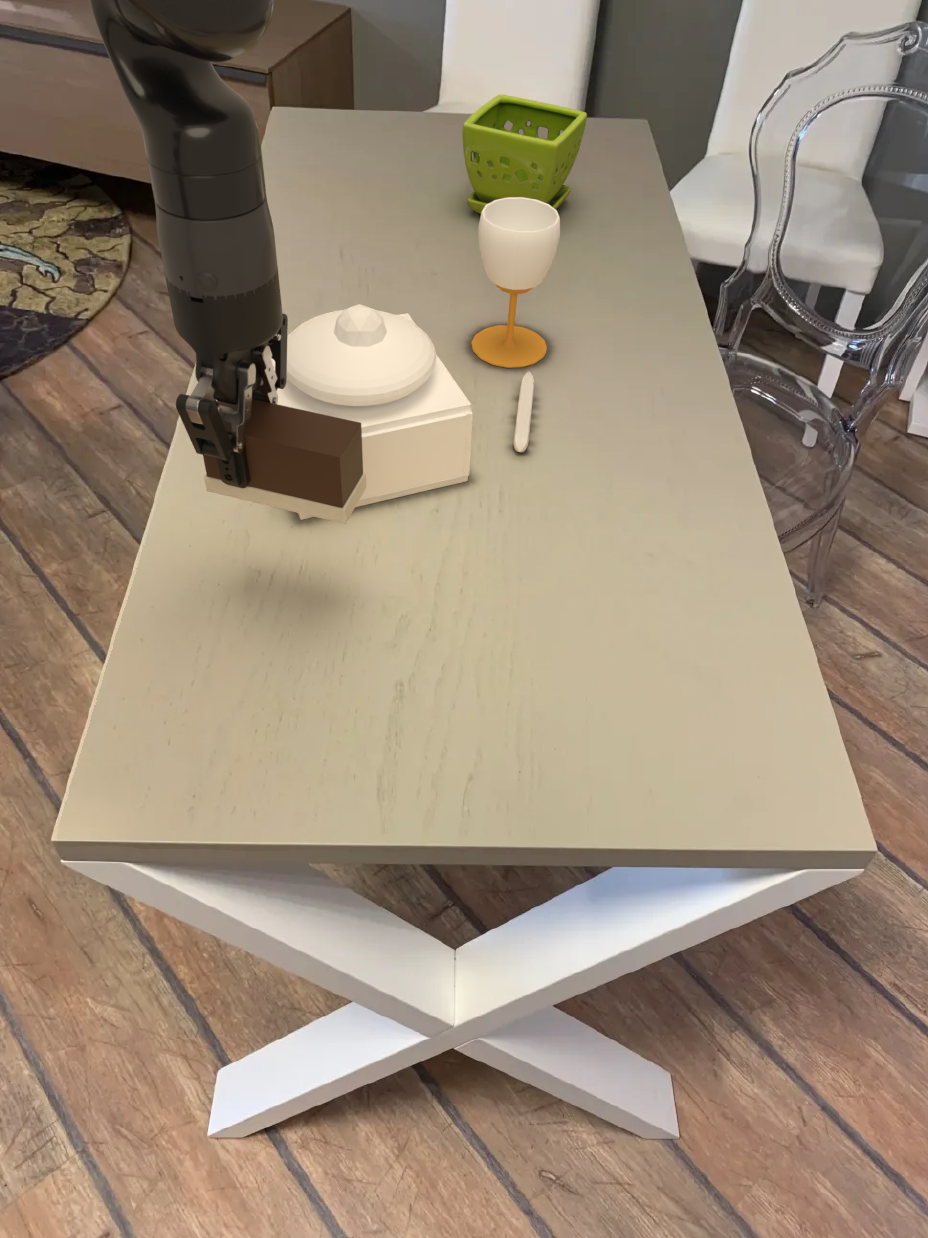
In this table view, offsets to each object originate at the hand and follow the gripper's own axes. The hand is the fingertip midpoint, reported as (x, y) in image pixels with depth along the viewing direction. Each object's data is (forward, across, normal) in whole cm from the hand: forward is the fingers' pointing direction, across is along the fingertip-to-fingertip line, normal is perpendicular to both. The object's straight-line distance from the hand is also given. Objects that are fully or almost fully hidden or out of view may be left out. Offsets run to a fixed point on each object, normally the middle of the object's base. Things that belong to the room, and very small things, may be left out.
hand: (250, 463), depth 76 cm
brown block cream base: (+2, 0, +3) cm, 4 cm away
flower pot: (+12, -80, +3) cm, 81 cm away
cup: (+12, -44, +11) cm, 47 cm away
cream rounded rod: (+13, -31, +16) cm, 37 cm away
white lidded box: (+13, -20, +1) cm, 24 cm away
